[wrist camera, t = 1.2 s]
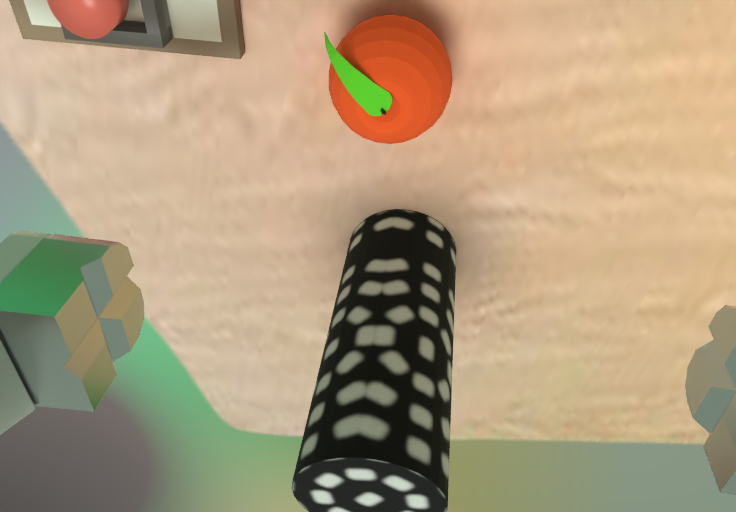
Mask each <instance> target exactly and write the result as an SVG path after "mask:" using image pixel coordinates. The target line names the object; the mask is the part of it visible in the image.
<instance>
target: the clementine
mask: <svg viewBox="0 0 736 512" xmlns="http://www.w3.org/2000/svg"><path fill="white" fill-rule="evenodd" d="M324 33H325V32H324ZM325 43H326V48H327V51H328V54H329V57H330V60H331V65H330V70H329V91H330V95H331V99H332V102H333V105H334V106H335V108H336V110H337V112H338V114H339V115H340V117H341V119H342V120H343V122H344V123H345V124H346V125H347V126H348V127H349V128H350V129H351V130H352V131H354V132H355V133H357V134H358V135H360V136H362V137H363V138H366V139H369V140H371V141H374V142H379V143H387V144H392V143H401V142H405V141H408V140H411V139H413V138H416V137H417V136H419V135H420V134H422V133H423V132H425V131H426V130H428V129H429V128H430V127H432V126H433V125H434V124H435V122H436V121H437V120H438V119H439V118H440V116H441V115H442V113H443V111H444V109H445V107H446V104H447V102H448V100H449V97H450V93H451V86H452V72H451V64H450V60H449V57H448V55H447V52H446V50H445V48H444V45H443V43H442V42H441V41H440V40H439V38H438V37H437V36H436V35H435V33H434V32H433V31H432V30H430V29H429V28H428V27H426V26H425V25H423V24H422V23H421V22H419V21H416V20H414V19H411V18H408V17H406V16H398V15H383V16H377V17H372V18H370V19H368V20H366V21H363V22H361V23H359V24H358V25H357V26H355V27H354V28H353V29H352V30H351V31H350V32H349V33H347V34H346V36H345V37H344V38H343V39H342V41H341V42H340V44H339V45H338V47H337V48H336V49H335V48H334V47H333V46H332V44H331V43H330V42H329V39H328V37H327V35H326V33H325Z"/></svg>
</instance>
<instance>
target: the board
mask: <svg viewBox="0 0 736 512" xmlns="http://www.w3.org/2000/svg"><path fill="white" fill-rule="evenodd" d="M9 1H10V3H11V6H12V9H13V12H14V15H15V17H16V20H17V23H18V26H19V29H20V32H21V34H22V37H23V39H32V40H43V41H54V42H64V43H75V44H85V45H96V46H107V47H117V48H128V49H139V50H149V51H160V52H170V53H181V54H192V55H202V56H213V57H224V58H234V59H241V58H242V56H243V55H244V53H245V47H244V37H243V27H242V18H241V8H240V0H129V8H128V13H127V15H126V17H125V19H124V20H123V21H122V22H121V23H120V24H118V25H117V26H116V27H115V28H114V29H113V30H111V31H110V32H109V33H108V34H107V35H105V36H103V37H101V38H98V39H86V38H82V37H80V36H77V35H75V34H73V33H72V32H70V31H69V30H67V29H66V28H65V27H64V26H63V25H61V24H60V22H59V21H58V20H57V19H56V18H55V16H54V15H53V13H52V11H51V9H50V7H49V5H48V2H47V0H9Z"/></svg>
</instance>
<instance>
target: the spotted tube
mask: <svg viewBox="0 0 736 512" xmlns="http://www.w3.org/2000/svg"><path fill="white" fill-rule="evenodd" d="M455 271H456V247H455V243H454V241H453V239H452V237H451V235H450V233H449V232H448V231H447V230H446V228H445V227H444V226H442V225H441V224H440V223H439V222H438V221H436V220H434V219H432V218H431V217H429V216H427V215H424V214H421V213H418V212H414V211H409V210H390V211H383V212H380V213H377V214H374V215H372V216H370V217H369V218H367V219H365V220H364V221H363V222H362V223H360V224H359V225H358V227H357V228H356V229H355V231H354V232H353V234H352V237H351V239H350V244H349V248H348V252H347V256H346V260H345V264H344V269H343V273H342V277H341V281H340V285H339V289H338V294H337V298H336V302H335V306H334V310H333V314H332V319H331V323H330V327H329V331H328V335H327V340H326V344H325V348H324V352H323V356H322V360H321V365H320V369H319V373H318V377H317V381H316V385H315V390H314V394H313V398H312V402H311V406H310V410H309V415H308V419H307V423H306V427H305V431H304V436H303V440H302V444H301V448H300V452H299V457H298V461H297V465H296V469H295V473H294V477H293V482H292V490H293V493H294V496H295V497H296V499H297V501H298V502H299V503H300V504H301V505H302V506H303V507H304V508H305V509H306V510H307V511H309V512H447V506H448V478H449V448H450V419H451V389H452V360H453V330H454V300H455Z"/></svg>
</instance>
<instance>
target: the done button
mask: <svg viewBox="0 0 736 512" xmlns="http://www.w3.org/2000/svg"><path fill="white" fill-rule="evenodd" d="M47 2H48V5H49V7H50V9H51V11H52V13H53V15H54V16H55V18H56V19H57V20H58V21H59V22H60V24H61V25H63V26H64V27H65V28H66V29H67V30H69V31H70V32H72V33H73V34H75V35H77V36H80V37H82V38H86V39H98V38H101V37H103V36H105V35H107V34H108V33H109V32H110V31H111V30H113V29H114V28H115V27H116V26H117V25H118V24H120V23H121V22H122V21H123V20H124V19H125V17H126V15H127V13H128V8H129V0H47Z"/></svg>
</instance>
